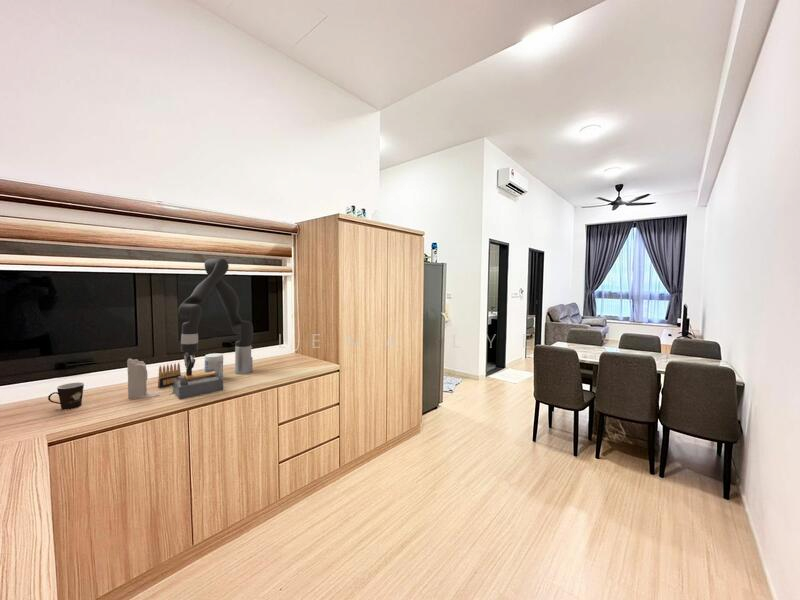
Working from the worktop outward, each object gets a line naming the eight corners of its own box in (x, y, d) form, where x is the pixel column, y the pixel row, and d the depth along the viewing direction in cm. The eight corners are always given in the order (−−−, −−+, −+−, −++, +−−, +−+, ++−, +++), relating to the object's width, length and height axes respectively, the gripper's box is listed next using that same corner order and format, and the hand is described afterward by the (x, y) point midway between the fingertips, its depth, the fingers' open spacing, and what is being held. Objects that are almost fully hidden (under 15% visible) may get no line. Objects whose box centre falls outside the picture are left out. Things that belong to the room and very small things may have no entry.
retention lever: (214, 372, 180) (214, 369, 180) (217, 374, 177) (217, 371, 177) (183, 377, 170) (183, 374, 170) (186, 379, 167) (185, 376, 167)
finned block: (215, 383, 185) (215, 367, 184) (223, 390, 175) (223, 373, 175) (172, 391, 171) (172, 374, 170) (179, 399, 161) (178, 381, 160)
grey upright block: (161, 396, 165) (161, 357, 163) (126, 400, 158) (125, 359, 157) (163, 391, 171) (163, 354, 170) (130, 395, 164) (129, 356, 163)
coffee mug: (83, 401, 155) (82, 381, 154) (86, 406, 149) (85, 385, 148) (47, 409, 146) (46, 387, 145) (48, 414, 140) (47, 391, 139)
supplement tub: (201, 381, 188) (200, 356, 187) (210, 376, 197) (210, 352, 196) (217, 382, 188) (217, 357, 187) (226, 377, 198) (226, 353, 197)
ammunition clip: (159, 388, 176) (158, 366, 175) (157, 387, 177) (157, 365, 176) (181, 383, 185) (181, 362, 184) (180, 382, 186) (179, 361, 185)
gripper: (201, 343, 167) (200, 376, 167) (194, 339, 176) (193, 371, 177) (184, 344, 161) (183, 379, 162) (178, 340, 171) (177, 373, 171)
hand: (189, 375), depth 169 cm, fingers closed
